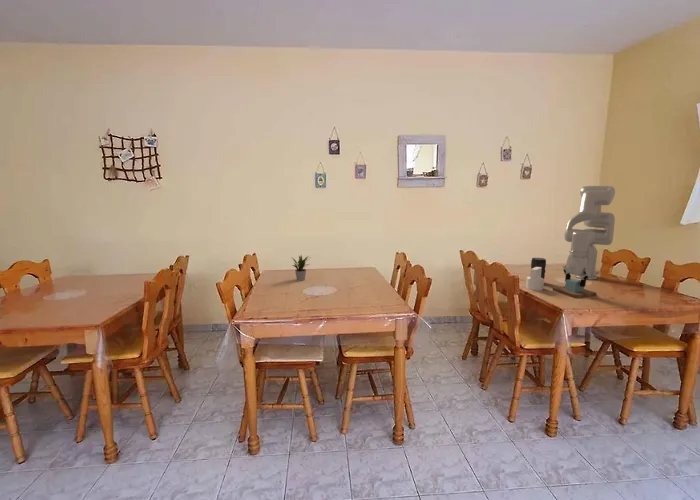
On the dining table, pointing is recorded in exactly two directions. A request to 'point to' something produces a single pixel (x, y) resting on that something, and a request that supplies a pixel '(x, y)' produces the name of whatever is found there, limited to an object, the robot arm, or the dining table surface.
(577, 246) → the robot arm
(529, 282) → the light grey stepped block
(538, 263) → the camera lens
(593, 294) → the shaft block
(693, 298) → the dining table surface
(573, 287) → the teal tissue box
